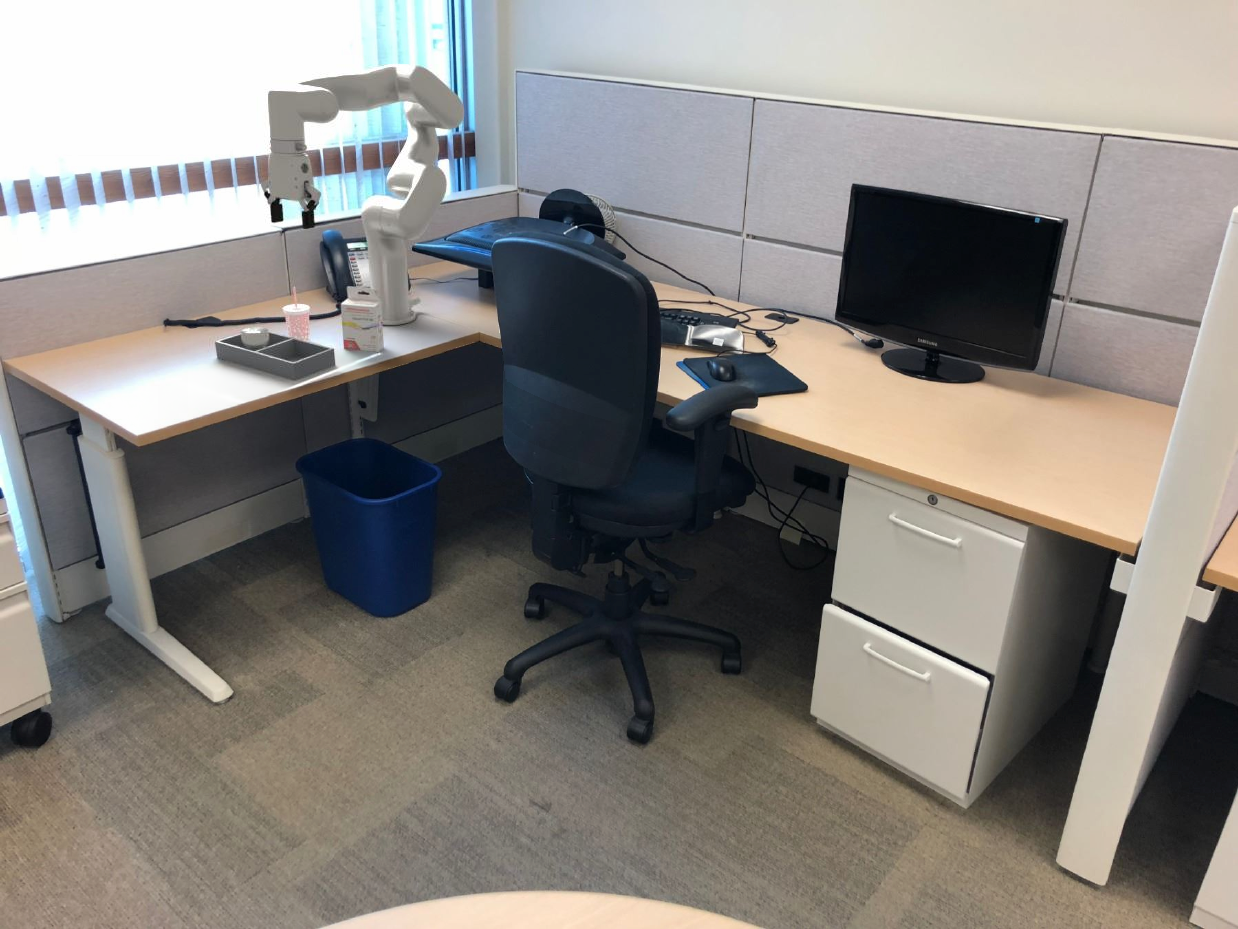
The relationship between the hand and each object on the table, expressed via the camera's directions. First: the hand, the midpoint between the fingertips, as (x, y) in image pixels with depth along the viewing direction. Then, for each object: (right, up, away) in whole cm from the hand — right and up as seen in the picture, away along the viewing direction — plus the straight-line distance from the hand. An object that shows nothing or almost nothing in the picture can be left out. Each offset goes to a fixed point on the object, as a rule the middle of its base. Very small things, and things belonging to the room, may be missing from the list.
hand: (293, 225), depth 228 cm
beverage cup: (-2, -26, +13) cm, 29 cm away
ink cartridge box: (+14, -27, +11) cm, 32 cm away
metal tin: (-9, -30, +2) cm, 31 cm away
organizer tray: (-4, -32, 0) cm, 32 cm away
